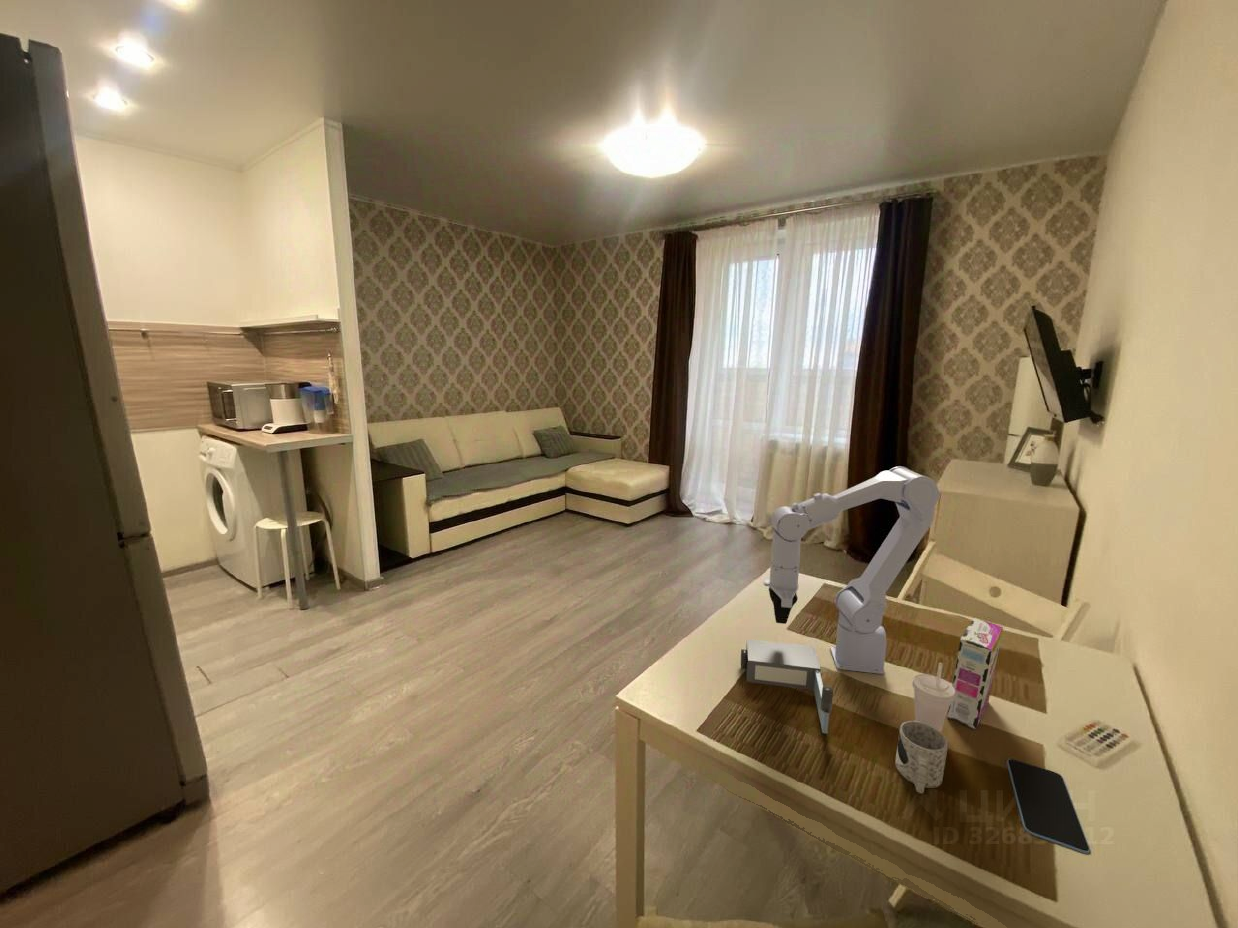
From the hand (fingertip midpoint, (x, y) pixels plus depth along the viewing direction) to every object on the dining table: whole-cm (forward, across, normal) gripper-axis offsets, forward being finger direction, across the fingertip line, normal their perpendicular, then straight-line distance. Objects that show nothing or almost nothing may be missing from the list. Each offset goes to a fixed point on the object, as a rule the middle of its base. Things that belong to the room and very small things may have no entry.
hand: (780, 621), depth 108 cm
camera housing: (+9, +5, 0) cm, 11 cm away
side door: (+9, +15, +6) cm, 19 cm away
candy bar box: (+10, +9, +34) cm, 36 cm away
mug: (+10, +28, +19) cm, 35 cm away
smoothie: (+10, +17, +24) cm, 31 cm away
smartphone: (+10, +29, +36) cm, 47 cm away
